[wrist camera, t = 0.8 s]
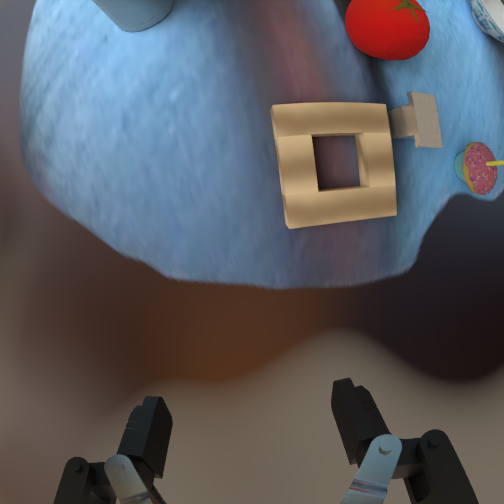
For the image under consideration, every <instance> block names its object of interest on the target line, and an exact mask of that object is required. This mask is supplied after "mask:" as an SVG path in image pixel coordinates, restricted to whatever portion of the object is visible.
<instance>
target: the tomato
mask: <svg viewBox="0 0 504 504" xmlns="http://www.w3.org/2000/svg"><path fill="white" fill-rule="evenodd" d="M426 12H427V11H426ZM345 25H346V31H347V33H348V36H349V38H350V39H351V41H352V43H353V44H354V45H355V46H356V47H357V48H358V49H359V50H360V51H362V52H363V53H365V54H367V55H369V56H372V57H376V58H380V59H384V60H406V59H409V58H411V57H413V56H415V55H417V54H418V53H419V52H420V51H421V50H422V49H423V48H424V47H425V45H426V43H427V41H428V39H429V33H430V25H429V20H428V17H427V15H426V13H425V10H423V8H422V7H421V6H420V4H419V3H418V2H417V1H416V0H352V1H351V3H350V5H349V6H348V8H347V11H346V16H345Z"/></svg>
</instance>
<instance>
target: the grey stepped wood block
mask: <svg viewBox="0 0 504 504" xmlns="http://www.w3.org/2000/svg"><path fill="white" fill-rule="evenodd" d="M407 96H408V101H409V104H408V105H405V106H401V107H398V108H395V109H392V110H389V111H387V115H388V122H389V128H390V135H391V139H415V146H416V147H425V148H443V146H442V138H441V130H440V124H439V118H438V112H437V106H436V101H435V96H434V95H430V94H424V93H419V92H412V91H411V92H408V93H407Z"/></svg>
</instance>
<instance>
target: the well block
mask: <svg viewBox="0 0 504 504" xmlns="http://www.w3.org/2000/svg"><path fill="white" fill-rule="evenodd" d="M270 112H271V119H272V125H273V132H274V139H275V145H276V152H277V160H278V167H279V174H280V182H281V190H282V198H283V206H284V214H285V223H286V225H287V226H288V228H289V229H293V228H300V227H307V226H315V225H322V224H330V223H338V222H345V221H353V220H361V219H369V218H378V217H386V216H394V215H397V206H396V185H395V172H394V161H393V151H392V143H391V135H390V128H389V122H388V115H387V110H386V104H374V103H349V102H321V103H296V104H281V105H273V106H272V108H271V110H270ZM340 135H355V140H356V148H357V156H358V165H359V175H360V186H350V187H339V188H329V189H319V190H318V184H317V175H316V166H315V158H314V151H313V143H312V137H318V136H340Z"/></svg>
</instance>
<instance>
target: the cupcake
mask: <svg viewBox="0 0 504 504" xmlns="http://www.w3.org/2000/svg"><path fill="white" fill-rule="evenodd" d="M497 165H504V160H503V161H495V158H494V156H493V153H492V152H491V151H490V149H489V148H488V147H487V146H486V145H484V143H481V142H479V143H478V142H472V143H470V144H469V145H467V146H466V148H465V151H463V152H461V153H459V154H458V155H457V156H456V158H455V162H454V168H455V172H456V175H457V176H458V178H459V179H460V180H462V181H464V182H465V183H466V184H467V185H468V187H469V188H470V190H471V191H472V192H473V193H476V194H479V195H483V194H484V195H485V194H486V193H489V191H490V190H491V189H493V186H494V185H495V183H496V179H497Z"/></svg>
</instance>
